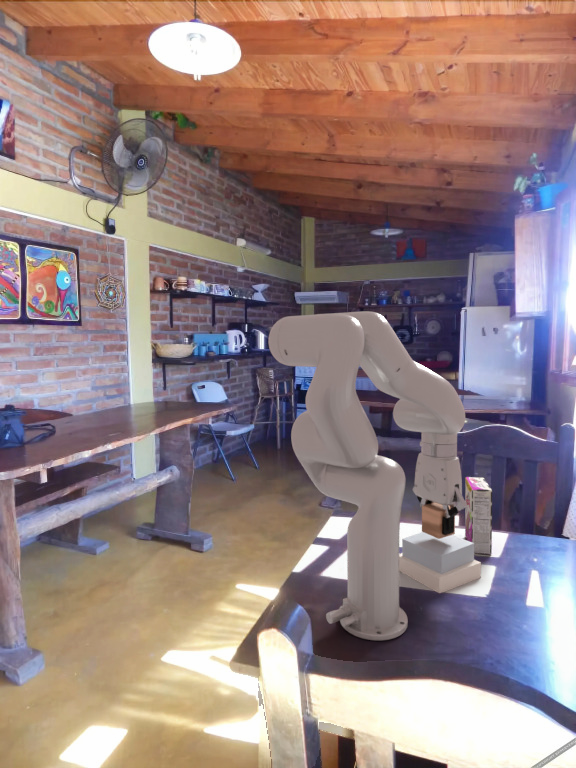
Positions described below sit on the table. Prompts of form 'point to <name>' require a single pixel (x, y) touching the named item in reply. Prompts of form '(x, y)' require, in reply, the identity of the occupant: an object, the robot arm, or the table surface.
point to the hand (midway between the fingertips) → (438, 528)
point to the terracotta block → (433, 520)
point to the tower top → (438, 551)
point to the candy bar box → (478, 514)
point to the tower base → (440, 580)
